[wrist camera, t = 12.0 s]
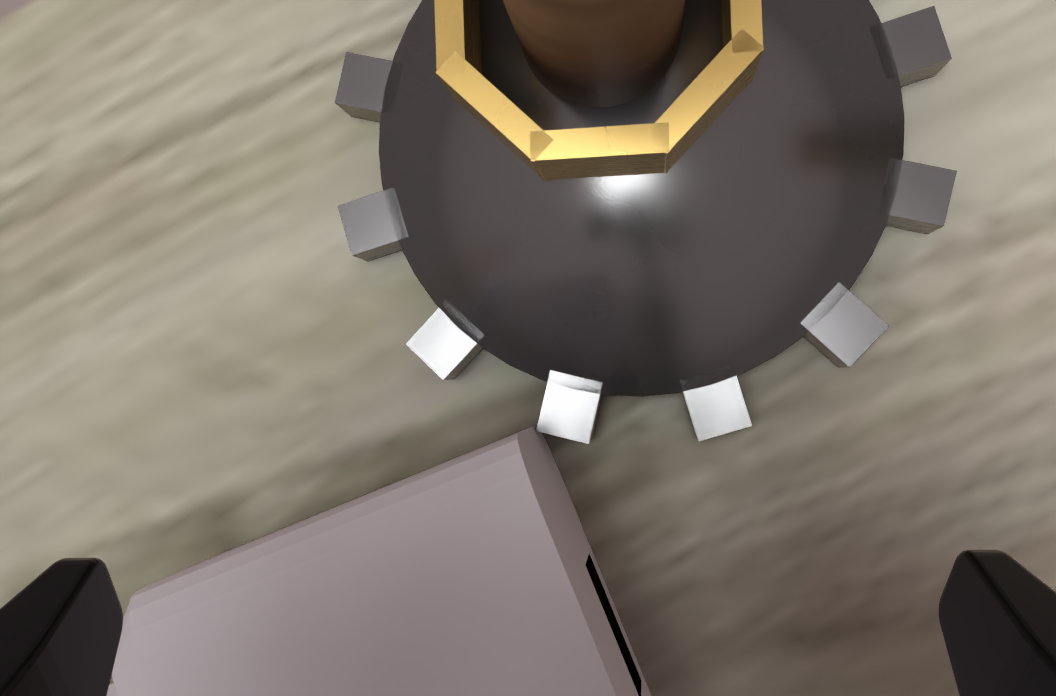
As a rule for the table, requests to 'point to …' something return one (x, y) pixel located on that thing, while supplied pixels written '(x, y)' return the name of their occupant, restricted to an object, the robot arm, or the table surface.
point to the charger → (394, 597)
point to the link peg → (598, 46)
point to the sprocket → (647, 198)
